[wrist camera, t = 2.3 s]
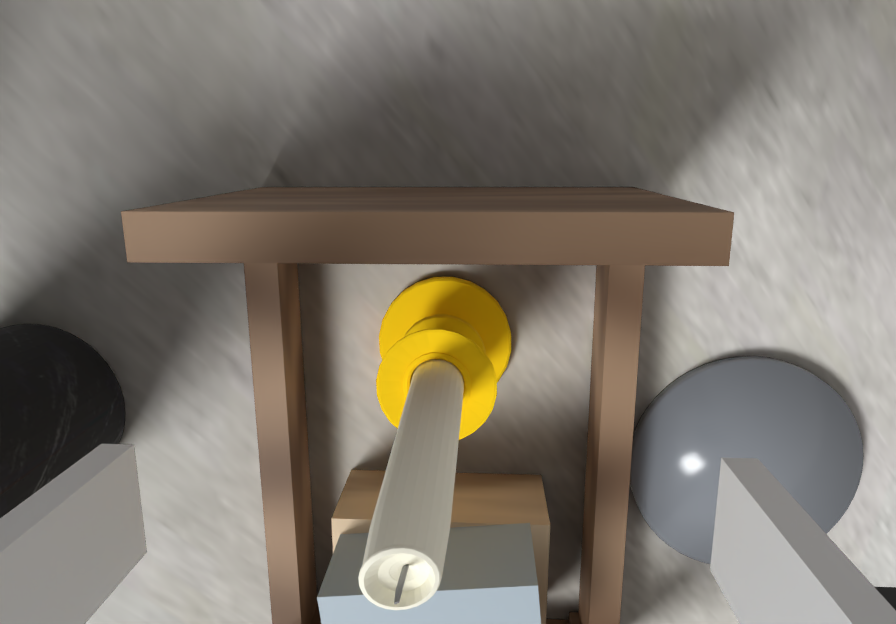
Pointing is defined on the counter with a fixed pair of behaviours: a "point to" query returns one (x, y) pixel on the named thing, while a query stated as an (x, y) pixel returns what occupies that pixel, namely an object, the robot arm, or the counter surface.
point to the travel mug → (51, 407)
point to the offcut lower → (462, 509)
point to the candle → (428, 427)
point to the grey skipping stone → (742, 446)
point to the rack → (434, 242)
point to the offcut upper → (445, 582)
